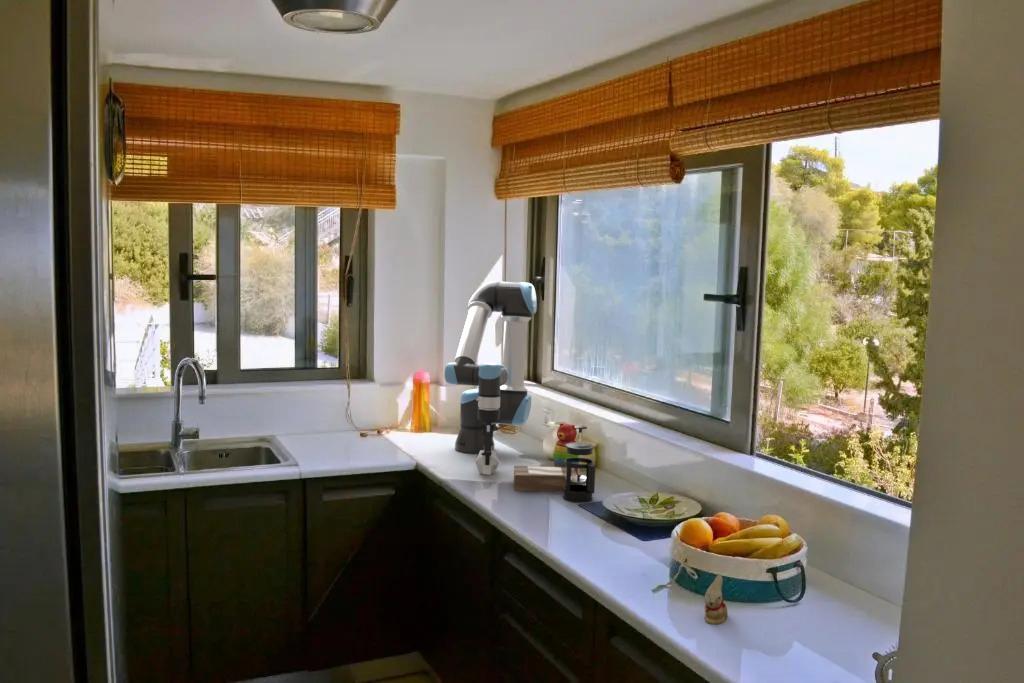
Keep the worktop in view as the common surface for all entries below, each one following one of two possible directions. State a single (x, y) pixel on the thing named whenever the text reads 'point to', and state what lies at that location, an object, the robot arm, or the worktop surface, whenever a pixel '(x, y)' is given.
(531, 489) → the block
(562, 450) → the stacking bear
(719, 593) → the chocolate bunny
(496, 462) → the die
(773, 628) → the worktop surface
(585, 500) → the french press
